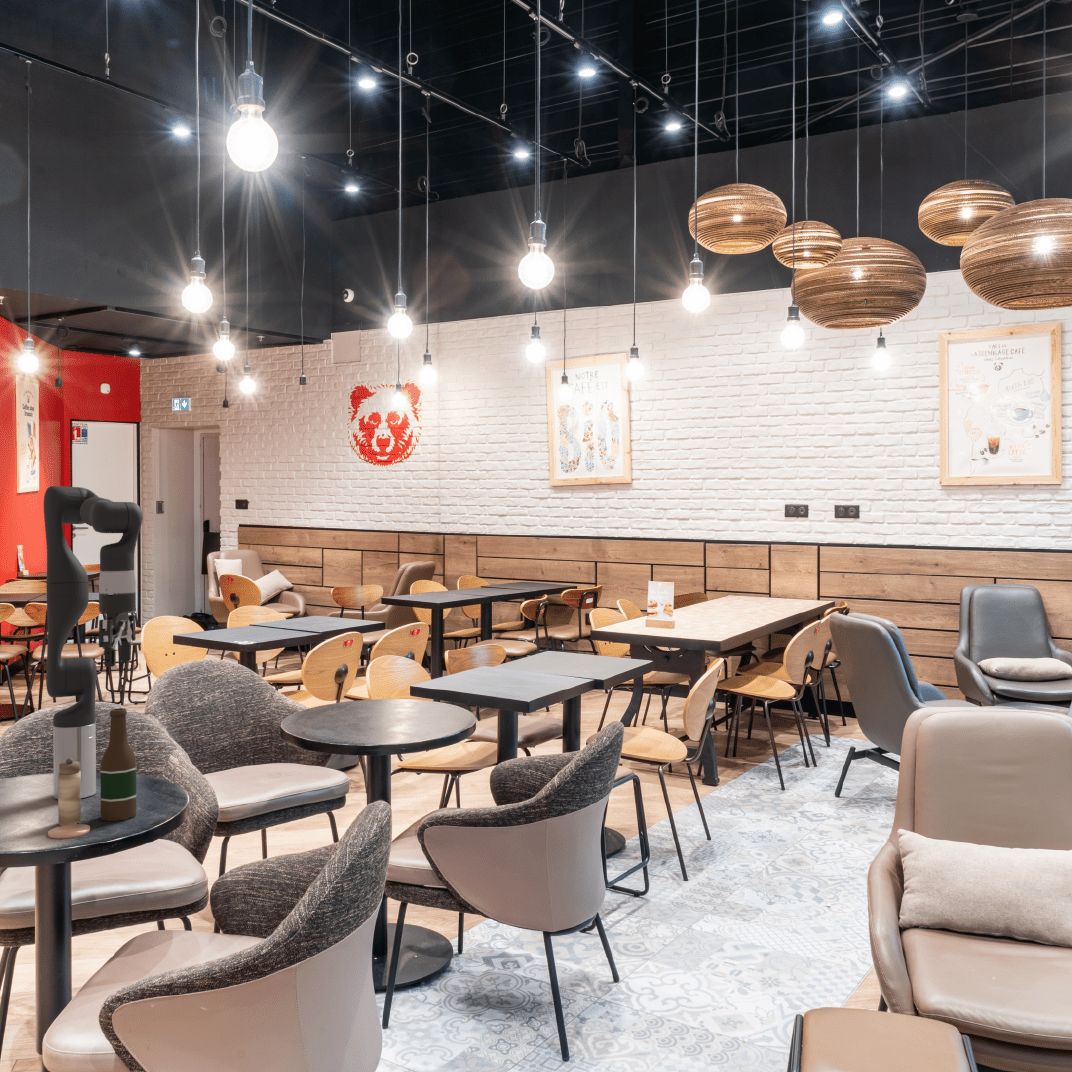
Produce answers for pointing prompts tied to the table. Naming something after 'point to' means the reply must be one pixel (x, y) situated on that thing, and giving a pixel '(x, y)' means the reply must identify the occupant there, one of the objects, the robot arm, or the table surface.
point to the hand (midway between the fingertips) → (117, 663)
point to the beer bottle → (118, 772)
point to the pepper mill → (69, 793)
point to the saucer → (68, 831)
